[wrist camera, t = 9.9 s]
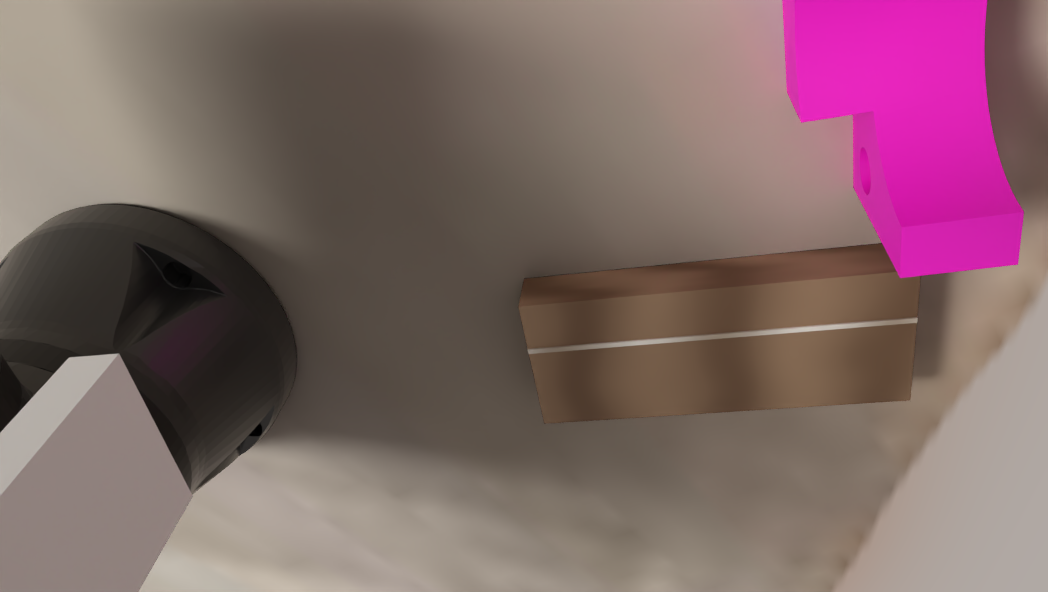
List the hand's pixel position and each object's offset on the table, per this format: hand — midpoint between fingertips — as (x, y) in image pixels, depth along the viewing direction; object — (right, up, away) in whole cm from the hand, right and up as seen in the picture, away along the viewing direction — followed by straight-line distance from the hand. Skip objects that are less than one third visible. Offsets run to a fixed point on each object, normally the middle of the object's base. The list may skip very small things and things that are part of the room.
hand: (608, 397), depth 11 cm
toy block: (+12, +12, +20) cm, 27 cm away
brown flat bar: (+8, 0, +28) cm, 30 cm away
